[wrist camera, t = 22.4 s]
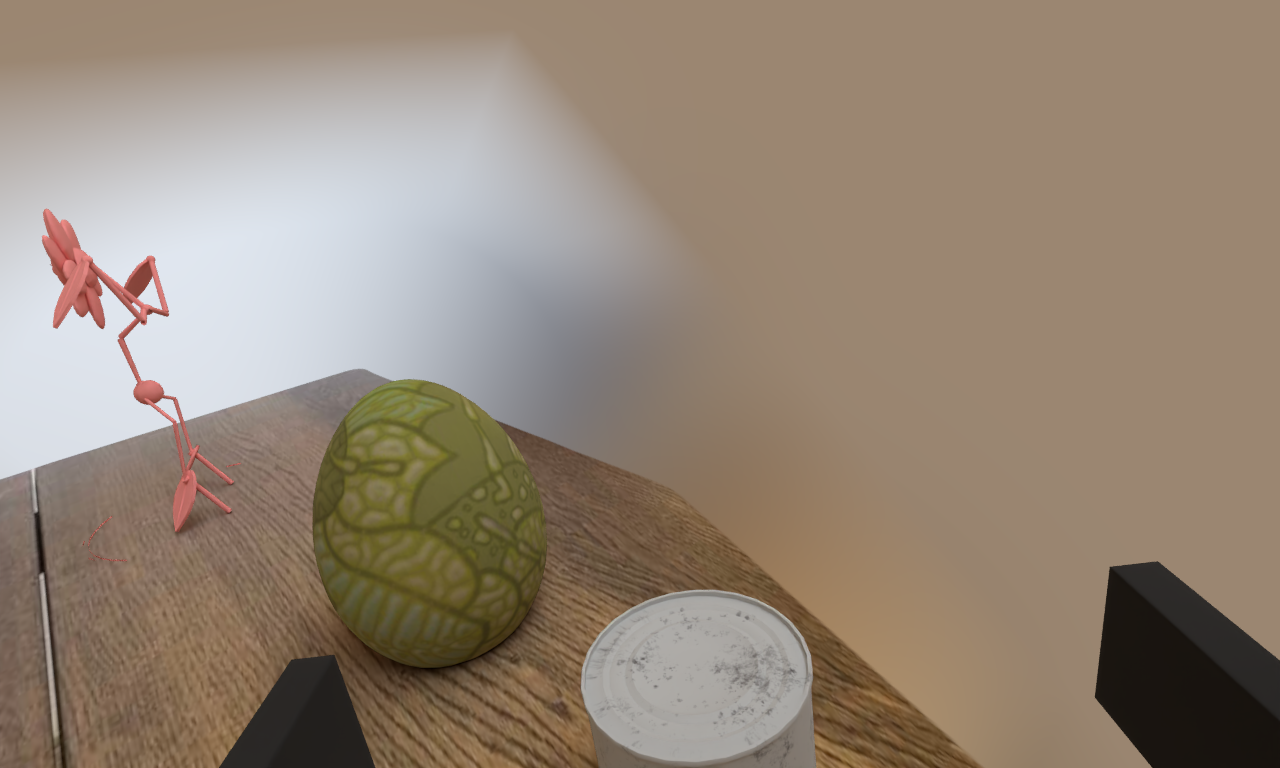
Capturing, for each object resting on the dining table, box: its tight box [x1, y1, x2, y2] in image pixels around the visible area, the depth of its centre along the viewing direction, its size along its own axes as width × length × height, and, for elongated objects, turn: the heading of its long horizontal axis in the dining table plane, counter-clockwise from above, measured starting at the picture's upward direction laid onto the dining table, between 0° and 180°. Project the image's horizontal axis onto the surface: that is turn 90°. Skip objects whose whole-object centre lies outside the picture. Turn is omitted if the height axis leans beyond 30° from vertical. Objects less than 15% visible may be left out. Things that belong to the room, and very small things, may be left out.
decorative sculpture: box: [313, 379, 547, 668], centre depth 50 cm, size 16×16×20 cm
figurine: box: [42, 209, 241, 561], centre depth 73 cm, size 15×26×35 cm, turn 29°
